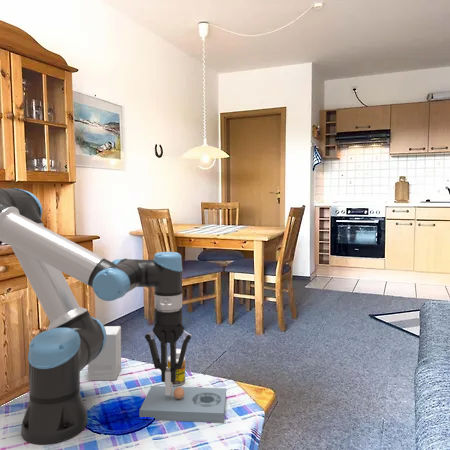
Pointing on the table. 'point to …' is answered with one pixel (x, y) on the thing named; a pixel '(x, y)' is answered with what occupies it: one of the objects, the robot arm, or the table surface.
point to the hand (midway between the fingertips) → (168, 392)
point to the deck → (185, 404)
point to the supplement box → (107, 357)
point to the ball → (178, 393)
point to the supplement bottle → (178, 370)
